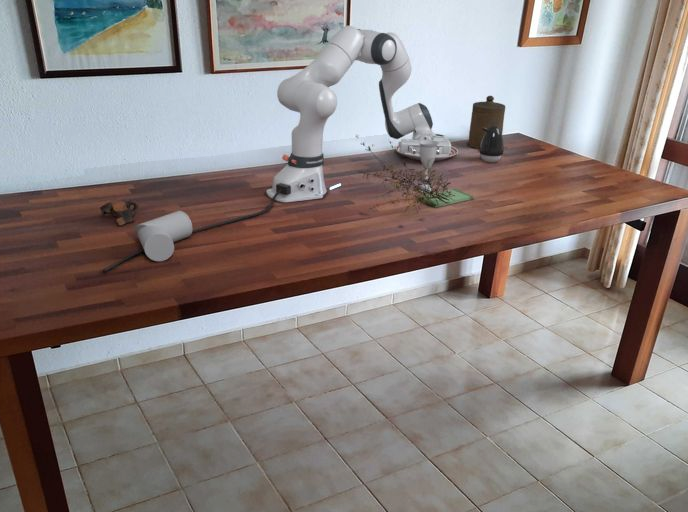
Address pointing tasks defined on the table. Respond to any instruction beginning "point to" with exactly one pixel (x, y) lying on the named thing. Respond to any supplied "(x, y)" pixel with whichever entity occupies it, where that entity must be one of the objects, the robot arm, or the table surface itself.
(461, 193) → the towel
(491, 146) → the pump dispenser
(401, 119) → the robot arm
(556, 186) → the table surface
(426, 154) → the chalice
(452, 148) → the dinner plate
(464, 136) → the table surface
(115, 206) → the brown irregular block
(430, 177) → the dried plant
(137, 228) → the bent grey cylinder
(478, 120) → the wooden container
